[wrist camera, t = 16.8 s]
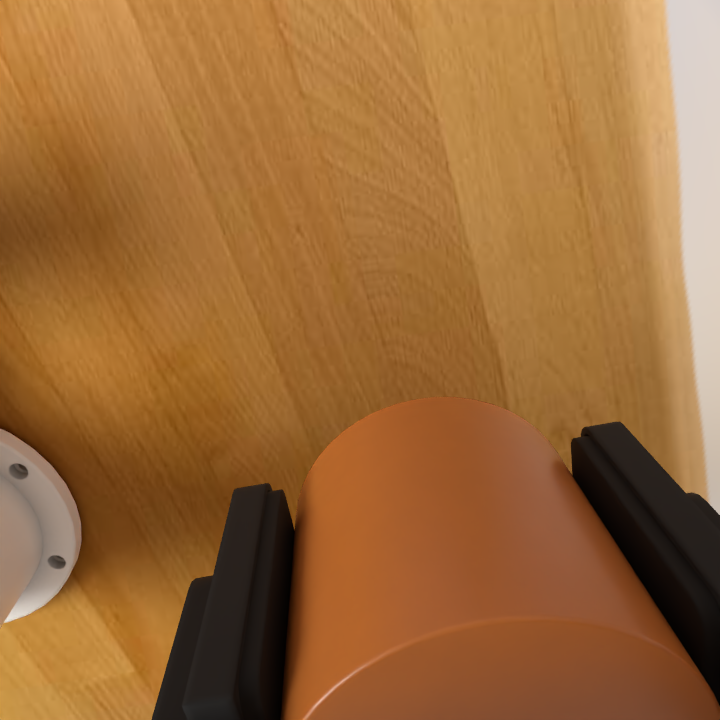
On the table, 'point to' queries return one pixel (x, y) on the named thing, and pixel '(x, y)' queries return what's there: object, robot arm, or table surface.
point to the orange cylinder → (468, 583)
